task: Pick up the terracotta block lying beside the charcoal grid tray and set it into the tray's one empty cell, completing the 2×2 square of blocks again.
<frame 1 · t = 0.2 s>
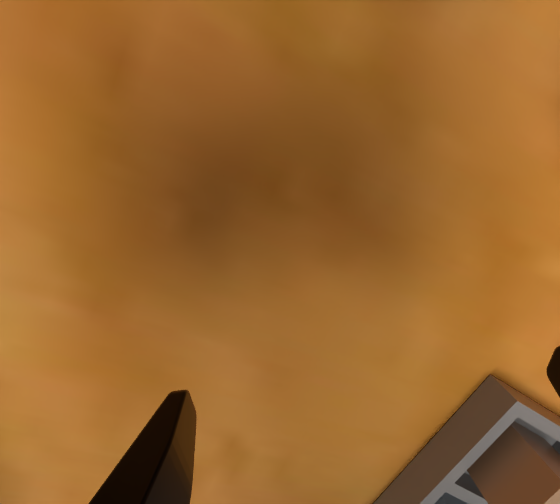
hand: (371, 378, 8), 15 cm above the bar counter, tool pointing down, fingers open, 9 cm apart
grid tray: (496, 488, 30), on the bar counter
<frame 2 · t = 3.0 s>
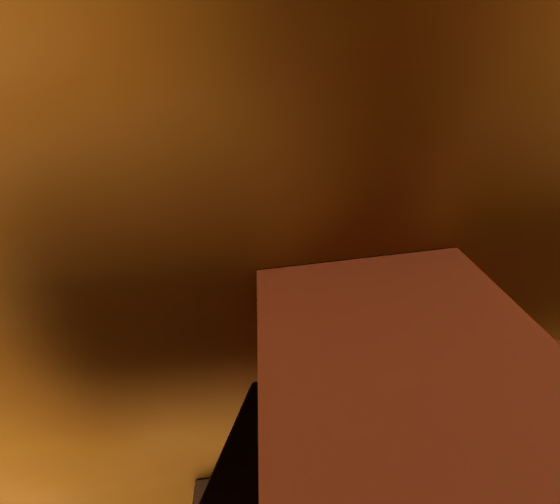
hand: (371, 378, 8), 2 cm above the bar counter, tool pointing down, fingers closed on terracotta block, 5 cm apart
terracotta block: (355, 333, 10), on the bar counter, touching gripper
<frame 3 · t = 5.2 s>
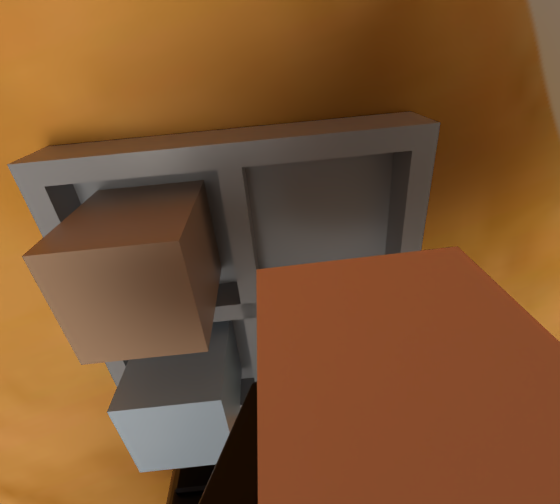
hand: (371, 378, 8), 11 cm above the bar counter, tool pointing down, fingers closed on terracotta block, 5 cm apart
terracotta block: (355, 333, 10), point 10 cm above the bar counter, touching gripper
grid tray: (252, 277, 20), on the bar counter
when the fingers open (4 cm above the bar counter, at t = 7.4 s): terracotta block drops 1 cm, resting on grid tray.
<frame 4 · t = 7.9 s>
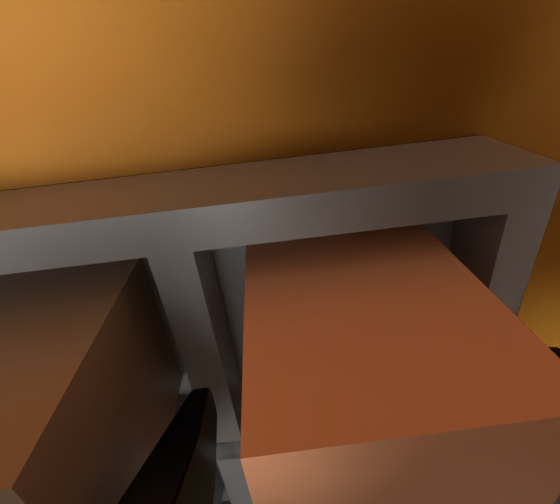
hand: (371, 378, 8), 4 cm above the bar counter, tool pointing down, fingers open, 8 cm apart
terracotta block: (334, 301, 11), point 1 cm above the bar counter, touching grid tray
grid tray: (232, 376, 14), on the bar counter
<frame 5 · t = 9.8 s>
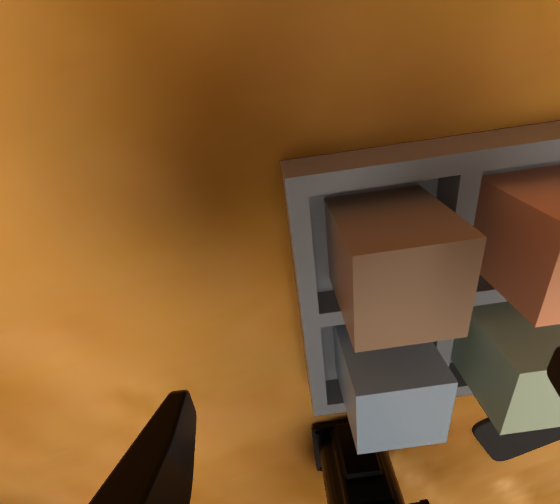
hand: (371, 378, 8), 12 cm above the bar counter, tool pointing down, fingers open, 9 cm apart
terracotta block: (513, 213, 19), point 1 cm above the bar counter, touching grid tray
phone: (557, 405, 31), on the bar counter
grid tray: (428, 273, 22), on the bar counter
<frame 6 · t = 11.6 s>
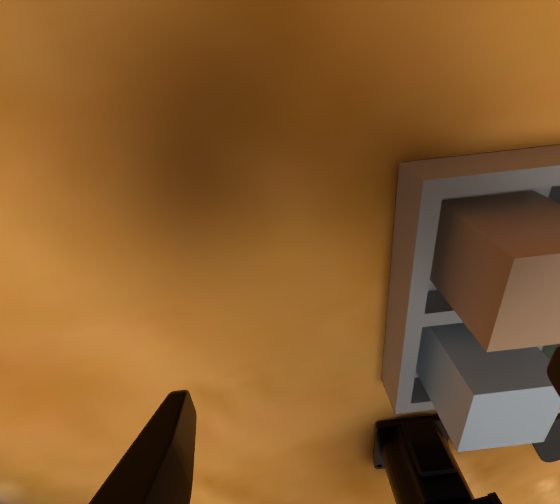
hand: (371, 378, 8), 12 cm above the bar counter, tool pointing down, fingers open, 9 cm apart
grid tray: (517, 276, 22), on the bar counter
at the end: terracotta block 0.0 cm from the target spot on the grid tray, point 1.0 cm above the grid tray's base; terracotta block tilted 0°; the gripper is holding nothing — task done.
